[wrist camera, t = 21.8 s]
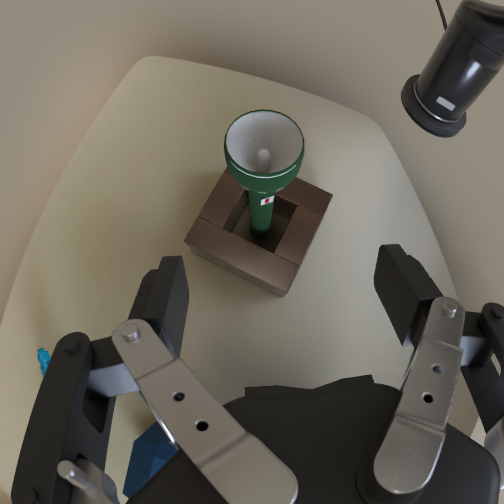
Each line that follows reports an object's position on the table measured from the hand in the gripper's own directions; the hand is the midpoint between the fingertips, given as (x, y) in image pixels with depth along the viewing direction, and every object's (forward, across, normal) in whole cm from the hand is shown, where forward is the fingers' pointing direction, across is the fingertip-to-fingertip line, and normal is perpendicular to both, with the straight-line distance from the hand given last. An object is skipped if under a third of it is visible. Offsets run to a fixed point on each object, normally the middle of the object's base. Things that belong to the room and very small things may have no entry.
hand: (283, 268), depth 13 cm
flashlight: (+24, 0, +11) cm, 26 cm away
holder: (+24, 0, +11) cm, 26 cm away
